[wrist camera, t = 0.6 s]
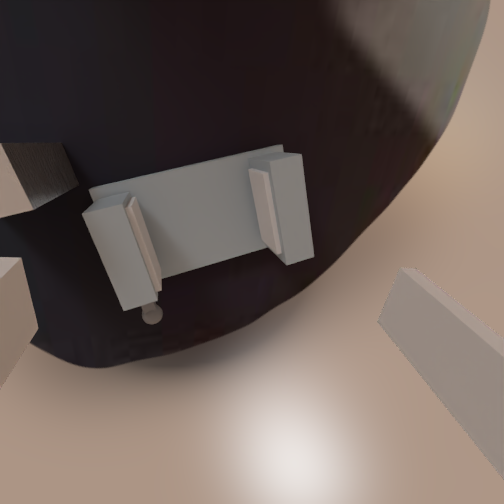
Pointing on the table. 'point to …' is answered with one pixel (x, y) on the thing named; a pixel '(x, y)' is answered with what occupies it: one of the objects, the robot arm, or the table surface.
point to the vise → (223, 209)
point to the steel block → (32, 175)
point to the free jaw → (126, 252)
